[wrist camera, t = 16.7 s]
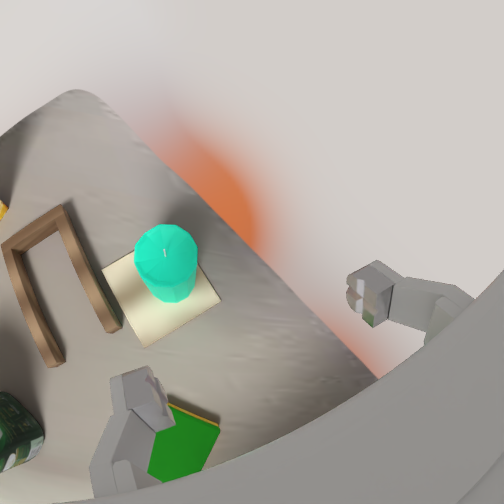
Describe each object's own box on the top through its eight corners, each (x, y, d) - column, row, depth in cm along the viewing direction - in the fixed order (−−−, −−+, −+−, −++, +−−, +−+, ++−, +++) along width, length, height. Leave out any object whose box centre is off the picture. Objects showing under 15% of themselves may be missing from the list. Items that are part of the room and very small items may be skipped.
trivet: (220, 301, 37) (221, 301, 37) (145, 348, 34) (144, 348, 33) (175, 228, 39) (175, 227, 38) (102, 270, 35) (101, 270, 35)
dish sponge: (128, 483, 28) (125, 491, 26) (166, 400, 33) (164, 404, 31) (179, 504, 28) (179, 512, 26) (219, 423, 33) (221, 429, 31)
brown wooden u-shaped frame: (122, 327, 34) (117, 326, 31) (57, 366, 30) (47, 368, 28) (67, 213, 36) (60, 203, 33) (10, 251, 33) (0, 244, 30)
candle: (189, 251, 38) (191, 211, 27) (200, 297, 37) (206, 276, 25) (143, 261, 36) (125, 224, 25) (152, 308, 35) (136, 291, 24)
